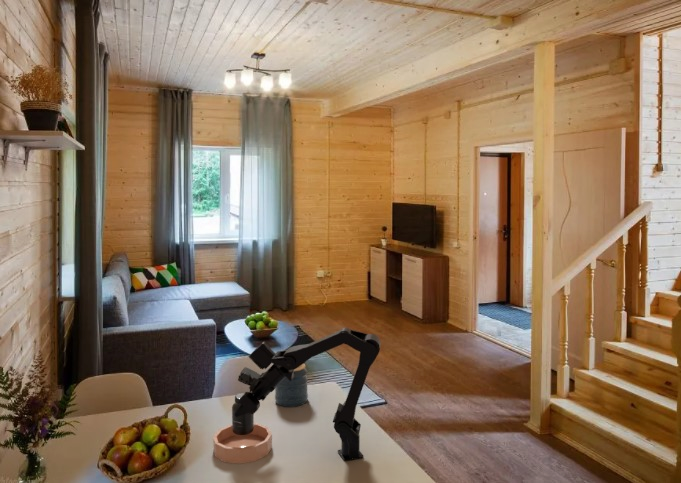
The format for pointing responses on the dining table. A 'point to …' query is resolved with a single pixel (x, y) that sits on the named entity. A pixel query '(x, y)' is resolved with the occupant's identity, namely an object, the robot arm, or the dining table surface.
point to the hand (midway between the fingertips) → (238, 411)
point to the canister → (293, 389)
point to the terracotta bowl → (242, 444)
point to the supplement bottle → (241, 419)
